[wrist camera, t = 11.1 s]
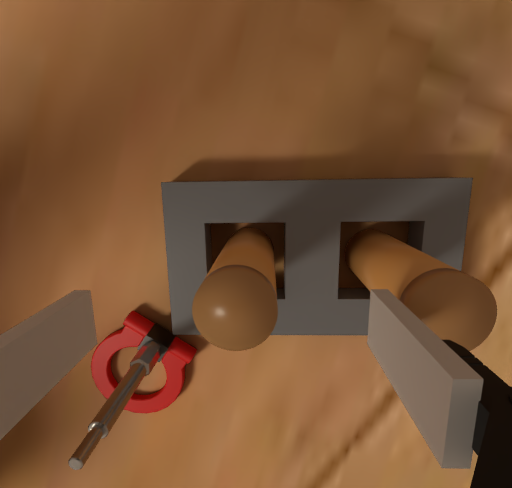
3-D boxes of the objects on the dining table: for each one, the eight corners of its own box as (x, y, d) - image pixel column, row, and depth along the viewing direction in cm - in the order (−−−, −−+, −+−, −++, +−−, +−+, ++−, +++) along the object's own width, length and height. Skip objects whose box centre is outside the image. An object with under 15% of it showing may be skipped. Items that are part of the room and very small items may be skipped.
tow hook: (159, 419, 31) (208, 350, 29) (79, 592, 19) (154, 495, 16) (83, 374, 30) (127, 300, 28) (-54, 523, 18) (5, 412, 16)
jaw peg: (222, 269, 27) (186, 342, 15) (229, 223, 26) (198, 263, 14) (268, 278, 27) (268, 357, 15) (277, 232, 26) (285, 279, 14)
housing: (180, 320, 28) (172, 334, 26) (171, 181, 26) (161, 182, 23) (436, 321, 27) (453, 335, 25) (452, 177, 25) (472, 177, 22)
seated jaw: (343, 276, 27) (402, 356, 15) (345, 229, 26) (410, 274, 14) (392, 276, 27) (490, 356, 15) (396, 228, 26) (503, 274, 14)
